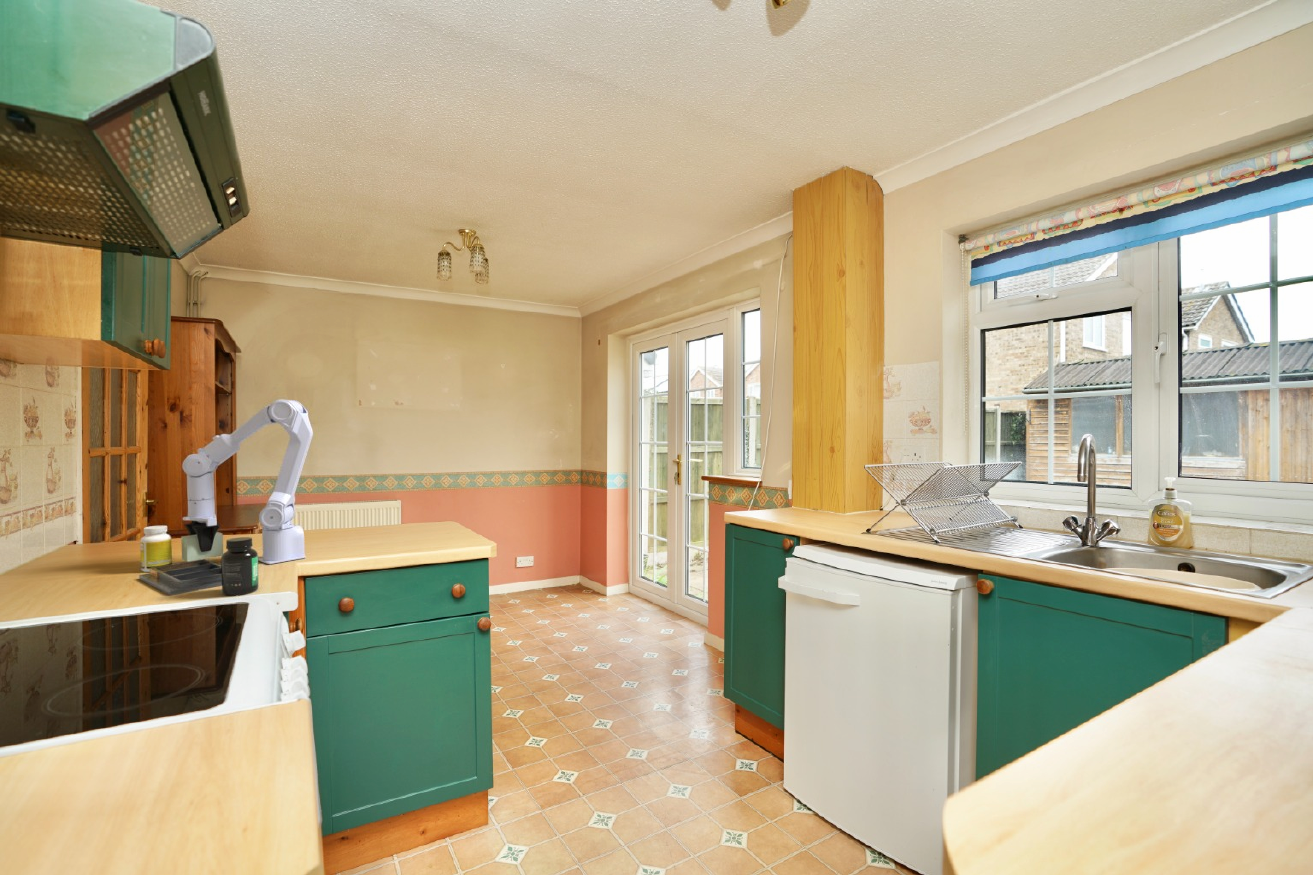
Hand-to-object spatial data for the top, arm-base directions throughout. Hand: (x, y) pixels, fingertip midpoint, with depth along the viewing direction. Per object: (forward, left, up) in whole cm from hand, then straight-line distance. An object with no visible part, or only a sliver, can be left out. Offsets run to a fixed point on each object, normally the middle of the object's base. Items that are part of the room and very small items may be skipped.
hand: (202, 549), depth 162 cm
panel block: (0, 0, -2) cm, 2 cm away
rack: (+7, +16, -4) cm, 18 cm away
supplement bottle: (+4, +36, -4) cm, 36 cm away
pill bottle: (+9, -3, -4) cm, 10 cm away
